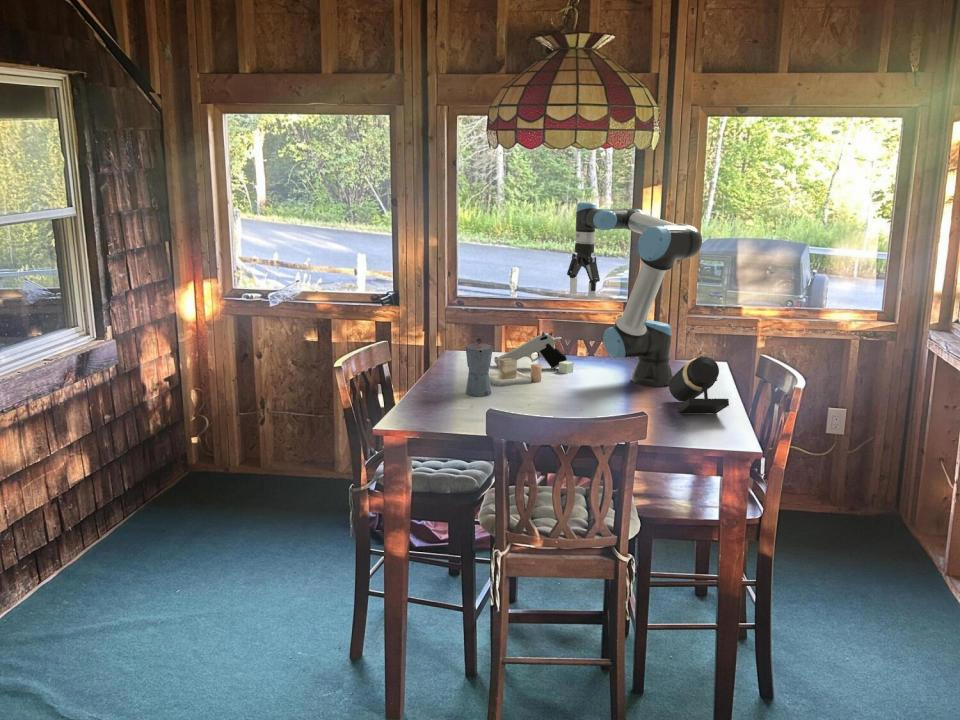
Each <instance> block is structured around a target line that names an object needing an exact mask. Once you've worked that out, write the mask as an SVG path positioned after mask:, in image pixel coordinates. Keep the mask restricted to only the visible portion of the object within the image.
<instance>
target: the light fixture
mask: <svg viewBox="0 0 960 720" xmlns="http://www.w3.org/2000/svg"><path fill="white" fill-rule="evenodd" d="M719 374H720V368H719V365H718V363H717V362H716V360H715V359H713V358H711V357H710V356H705V355H700V356H699V357H695V358H693V359H690V360H689V361H688V362H686V363H685V364H684V365H683V366H682V367H681V368H680V369H679V370H678V371H677V372H676V373H675V374H674V375H672V376H673V377H672V378H671V380H670V383H669V385H668V388H669V389H668V390H669V392H670V394H671V396H672V397H673V398H674V399H676V400H677V401H679V402H682V401H685V402H682V403H681V404H680V405H679V406H677V414H678V413H716V414H718V413H720V412H721V411H723V410H724V409H726V408H727V407H729V406H730V401H729V398H709V396H708V390H709V389H711V388H712V387H713V385H714V384H715V383H716V382H717V381H718V377H719ZM702 394H703V398H698V397H699V396H701V395H702Z"/></svg>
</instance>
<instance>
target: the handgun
mask: <svg viewBox="0 0 960 720" xmlns="http://www.w3.org/2000/svg"><path fill="white" fill-rule="evenodd" d="M553 334H554V333H553V331H551V332H549V333H548V332H545V330H544V331H542V333H541V335H537V336H535V337H533V338H531V339H529V340H528V341H526V342H525V343H523V344H521V345H519V346H517V347H515V348H513V349H512V350H510V351H508V352H506V353H504V354H501V355H499V356H494V360H493V361H494V363H495V365H496V366H497V367H498V368H499V359H507V358H511V359H514V360H516V361H517V362H518V360H520V359H522V358H525V357H527V358H529V359H530V361H531V362H532V363H533V362H535V361H538V360H539V359H541V358H543V359H544V361H545V362H546V363H547V364H548V365H549V367H550V369H551V371H552V370H555V369H557V368H559V362H563V361H568V360H567V356H566V354H565V353H563V352H562V351H560V349H558V348H557V346H555V343H556V342H558V341H560V340H562V337H561V336H558V337H557V336H556V337H554V336H553ZM534 353H536V354H537V357H536V358H533V357H532V355H533V354H534Z"/></svg>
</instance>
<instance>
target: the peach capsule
mask: <svg viewBox="0 0 960 720" xmlns="http://www.w3.org/2000/svg"><path fill="white" fill-rule="evenodd" d="M542 369H543V368H542V364H536V363H534V364H531V365H530V377H531V381H532V382H531V383H541V382H542Z"/></svg>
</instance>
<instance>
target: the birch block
mask: <svg viewBox="0 0 960 720" xmlns="http://www.w3.org/2000/svg"><path fill="white" fill-rule="evenodd" d="M517 364H518V360H517V361H516V360H514V359H511V358H507V359H499V367H498V371H497V372H498V377H499V378H501V379H503V380H505V379H516V374H517V371H518V369H517V366H518V365H517Z"/></svg>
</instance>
